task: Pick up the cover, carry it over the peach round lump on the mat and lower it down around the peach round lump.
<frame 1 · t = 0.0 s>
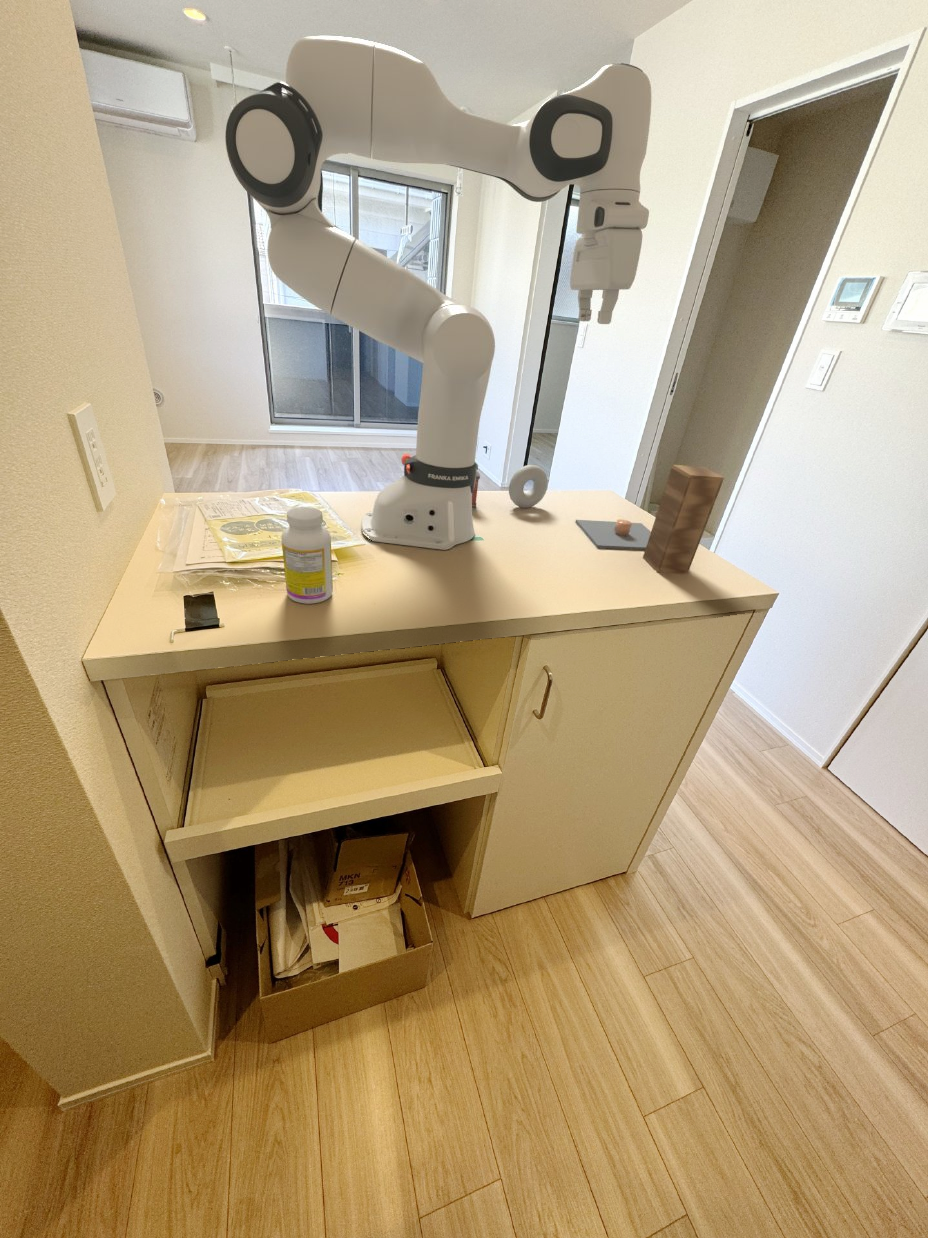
hand: (593, 322, 86), 39 cm above the table, tool pointing down, fingers open, 8 cm apart
mat: (620, 536, 111), on the table
cover: (664, 565, 99), on the table
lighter: (465, 503, 119), on the table
donut: (524, 508, 120), on the table
peach round lump: (622, 527, 110), on the mat, point 1 cm above the table
supplement bottle: (310, 595, 76), on the table
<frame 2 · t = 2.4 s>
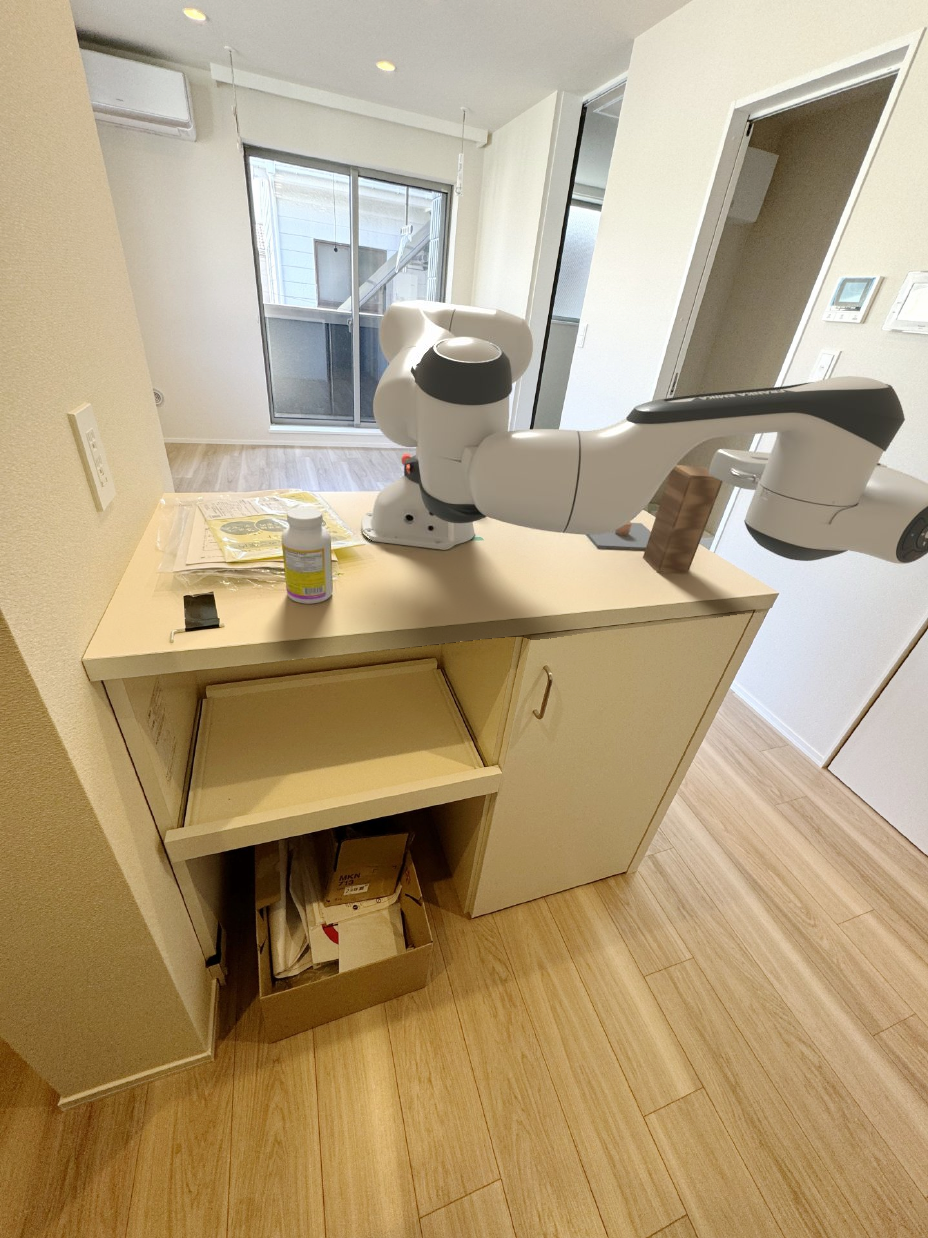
hand: (752, 457, 76), 24 cm above the table, tool horizontal, fingers open, 8 cm apart
nothing on the table moved.
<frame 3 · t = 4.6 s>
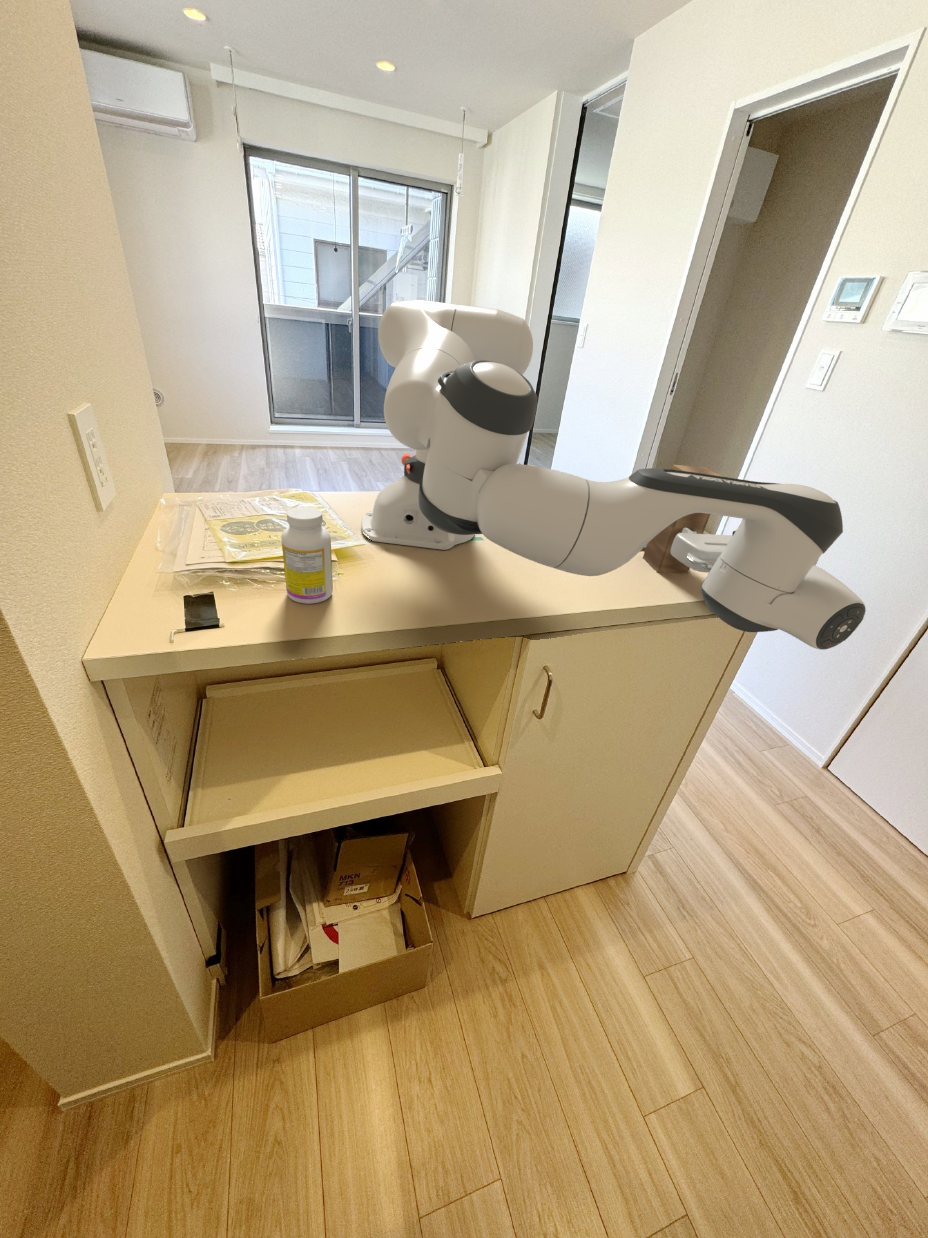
hand: (710, 533, 86), 11 cm above the table, tool horizontal, fingers open, 8 cm apart
nothing on the table moved.
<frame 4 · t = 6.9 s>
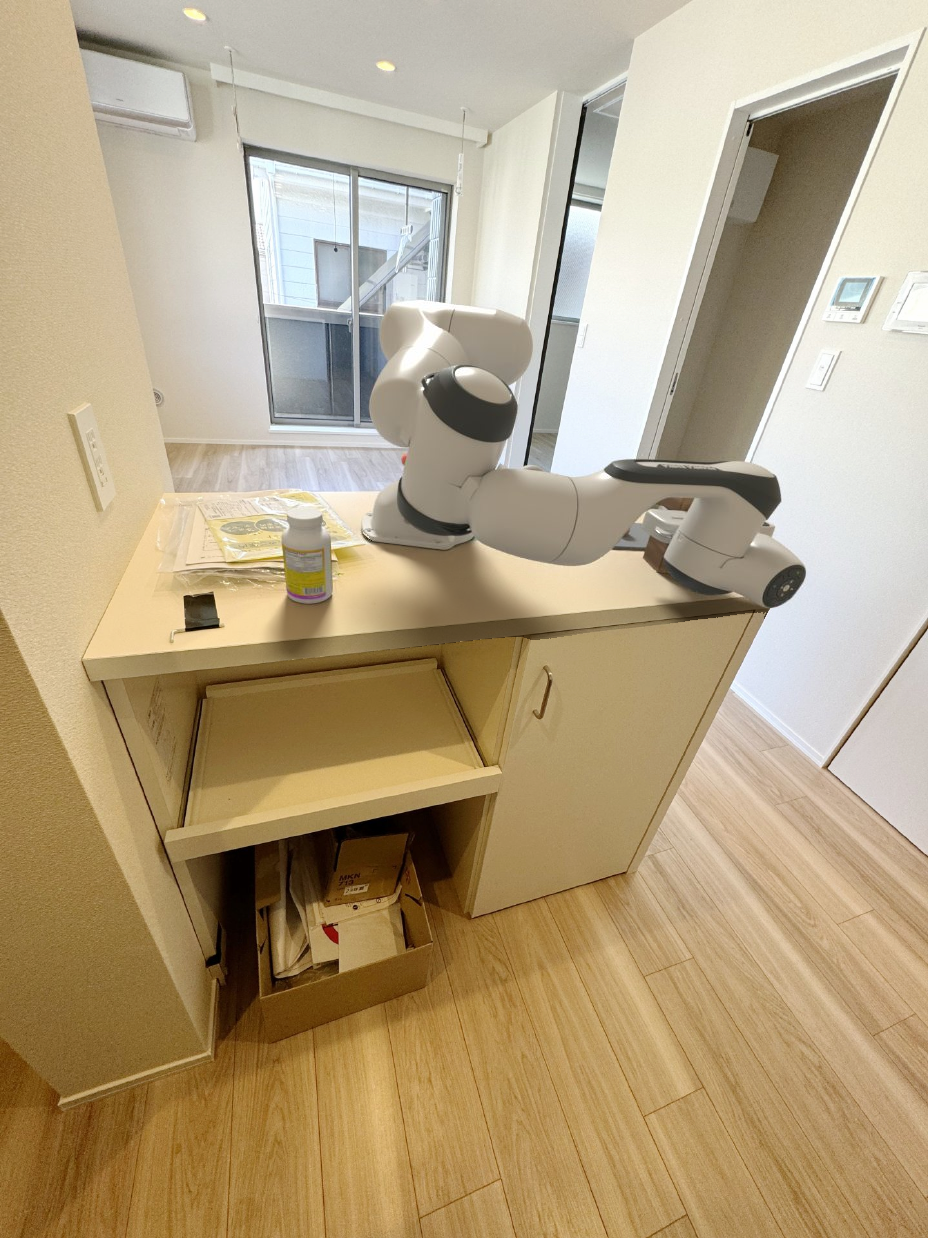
hand: (680, 510, 95), 11 cm above the table, tool horizontal, fingers closed on cover, 6 cm apart
cover: (664, 565, 99), on the table, touching gripper
everything else where it was.
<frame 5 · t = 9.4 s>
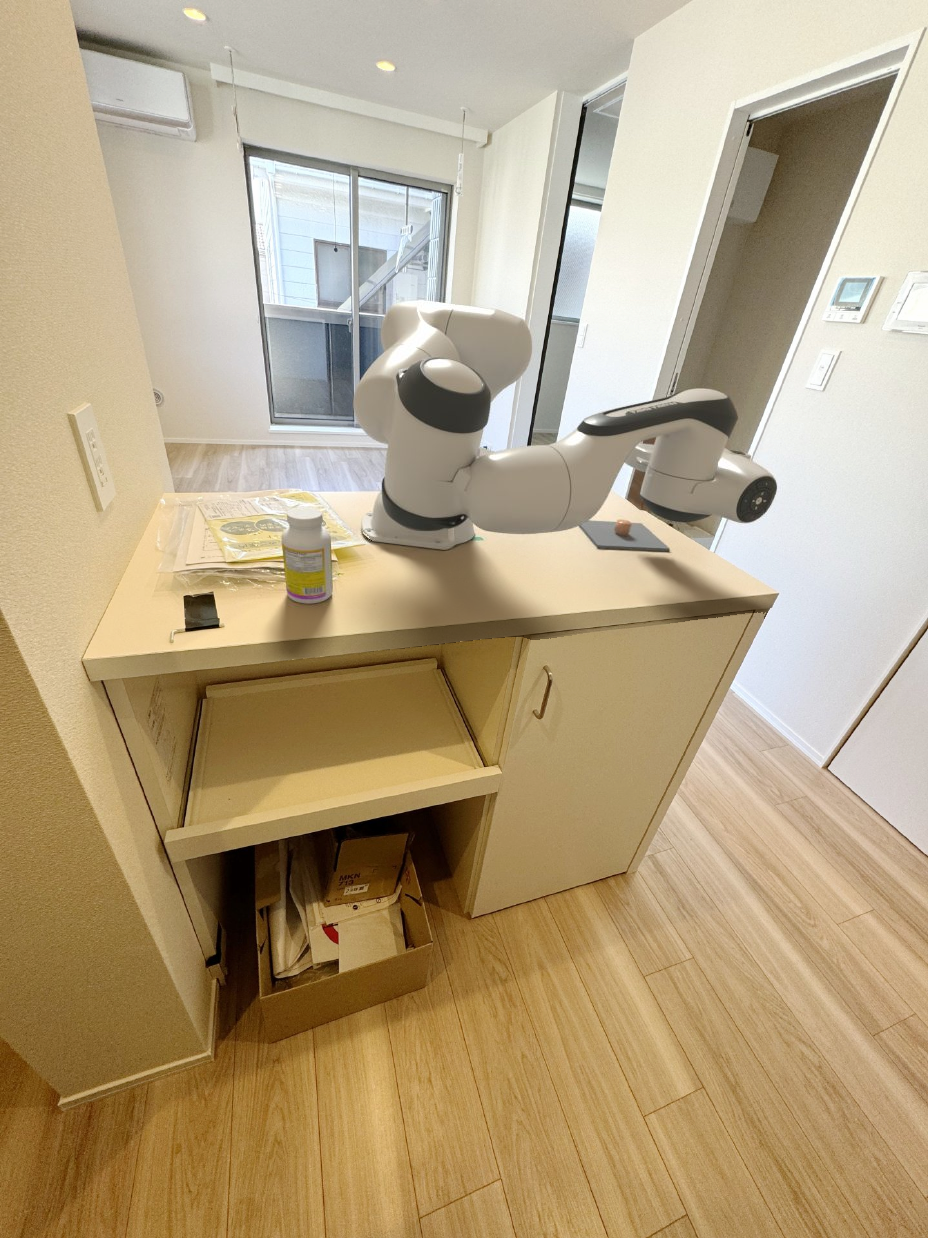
hand: (662, 449, 98), 19 cm above the table, tool horizontal, fingers closed on cover, 6 cm apart
cover: (647, 505, 102), point 9 cm above the table, touching gripper
everything else where it was.
when the fingers open (13 cm above the table, at t = 12.2 s): cover drops 1 cm, resting on mat.
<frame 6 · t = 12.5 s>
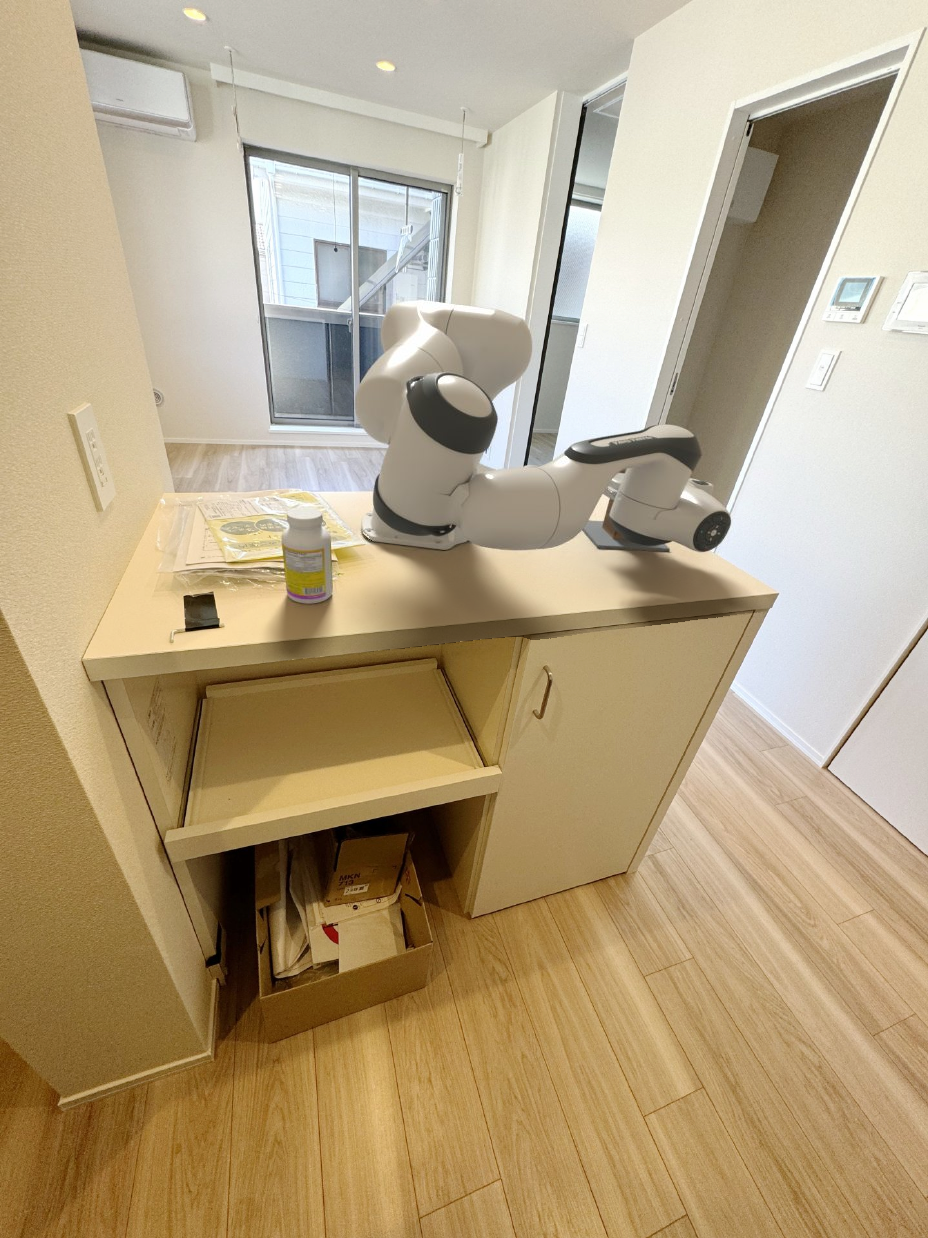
hand: (635, 476, 105), 13 cm above the table, tool horizontal, fingers open, 8 cm apart
cover: (621, 533, 110), point 1 cm above the table, touching mat
everything else where it was.
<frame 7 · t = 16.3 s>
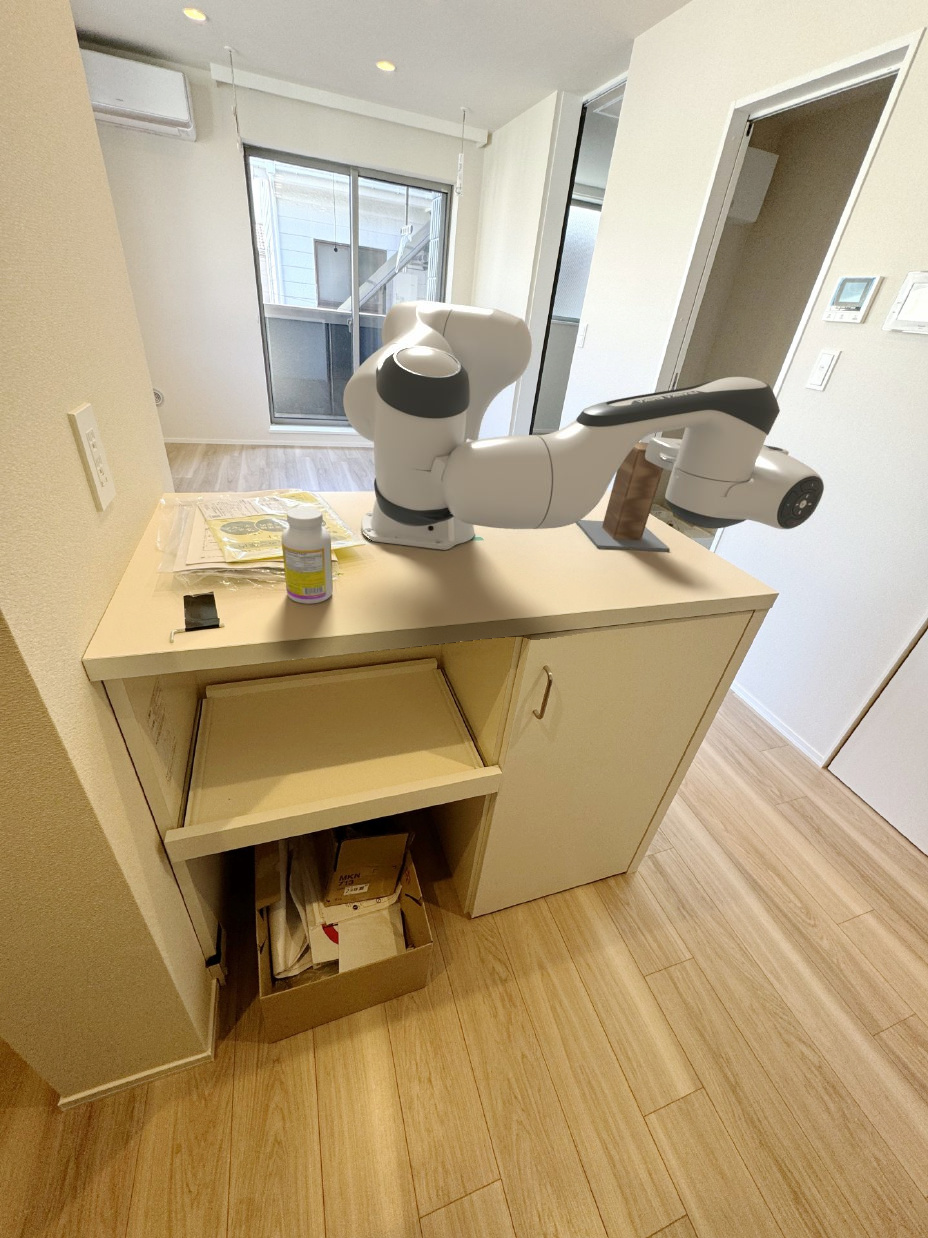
hand: (686, 444, 89), 23 cm above the table, tool horizontal, fingers open, 8 cm apart
nothing on the table moved.
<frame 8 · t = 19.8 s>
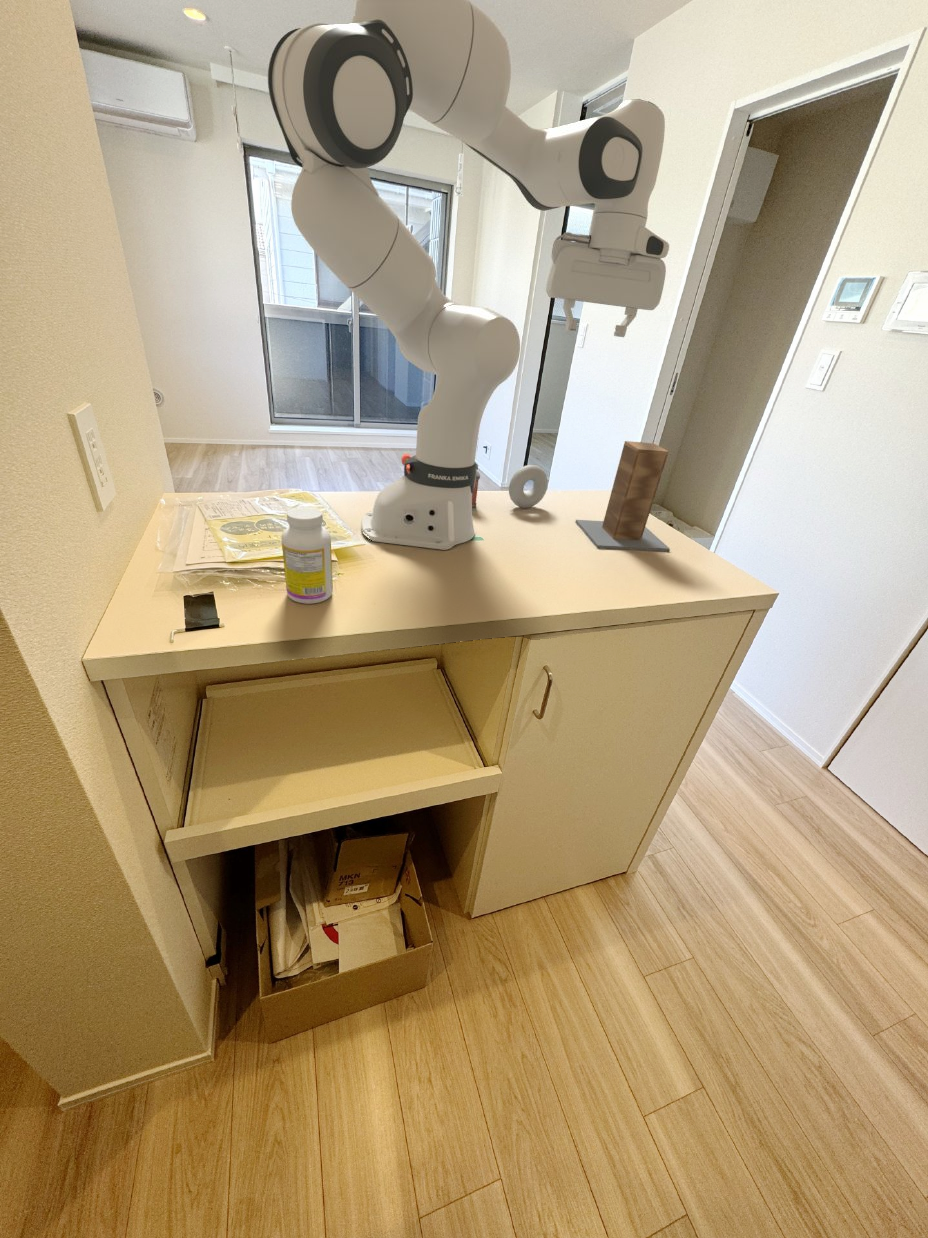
hand: (594, 333, 92), 37 cm above the table, tool pointing down, fingers open, 8 cm apart
nothing on the table moved.
at the end: cover 0.1 cm from the peach round lump (horizontally); cover point 0.6 cm above the table; cover tilted 0° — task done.
